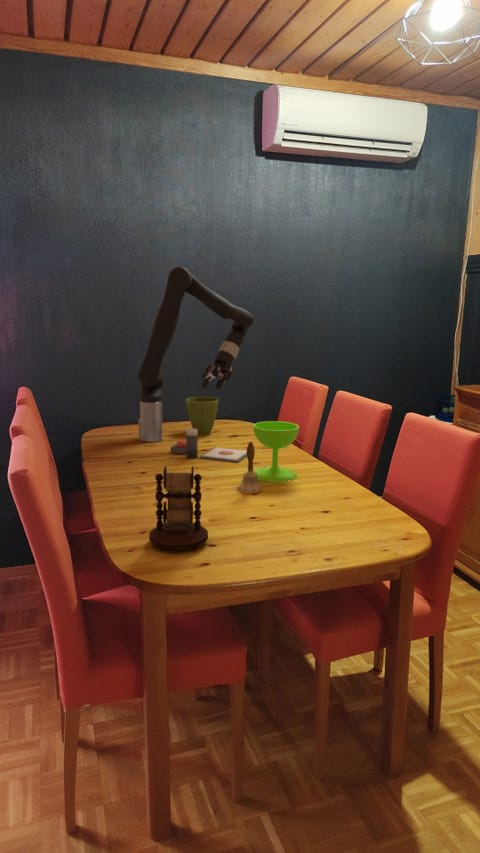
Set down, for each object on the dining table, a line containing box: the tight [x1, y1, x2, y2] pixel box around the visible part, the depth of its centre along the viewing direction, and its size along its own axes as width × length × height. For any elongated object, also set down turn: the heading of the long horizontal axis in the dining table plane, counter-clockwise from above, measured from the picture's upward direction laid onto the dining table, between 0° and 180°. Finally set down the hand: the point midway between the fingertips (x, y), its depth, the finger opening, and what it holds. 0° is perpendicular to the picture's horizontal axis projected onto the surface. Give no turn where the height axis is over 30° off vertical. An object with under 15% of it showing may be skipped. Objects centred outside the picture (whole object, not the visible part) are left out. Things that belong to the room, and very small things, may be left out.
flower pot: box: [185, 396, 219, 436], centre depth 266 cm, size 15×15×16 cm
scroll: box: [148, 465, 209, 551], centre depth 145 cm, size 15×15×20 cm
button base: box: [170, 443, 186, 456], centre depth 234 cm, size 7×7×2 cm
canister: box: [185, 428, 199, 460], centre depth 226 cm, size 4×4×11 cm
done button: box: [176, 439, 186, 448], centre depth 234 cm, size 4×4×2 cm
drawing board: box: [199, 446, 247, 464], centre depth 230 cm, size 16×16×1 cm
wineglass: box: [252, 420, 300, 483], centre depth 203 cm, size 16×16×18 cm
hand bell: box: [236, 441, 263, 494], centre depth 187 cm, size 8×8×16 cm
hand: (210, 388), depth 233 cm, fingers open, 8 cm apart
